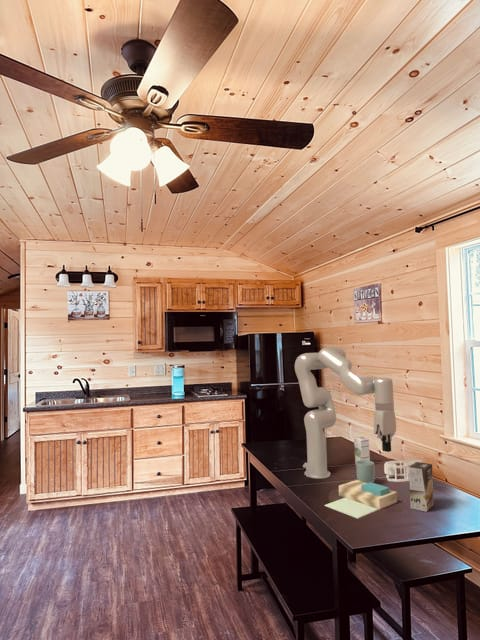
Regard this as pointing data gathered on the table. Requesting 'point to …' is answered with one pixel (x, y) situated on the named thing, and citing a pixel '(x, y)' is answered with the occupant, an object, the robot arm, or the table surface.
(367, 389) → the robot arm
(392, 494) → the deck
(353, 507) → the mat
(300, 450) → the table surface
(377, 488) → the teal flat block
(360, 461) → the cup
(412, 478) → the coffee box
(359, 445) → the syrup box
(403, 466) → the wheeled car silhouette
